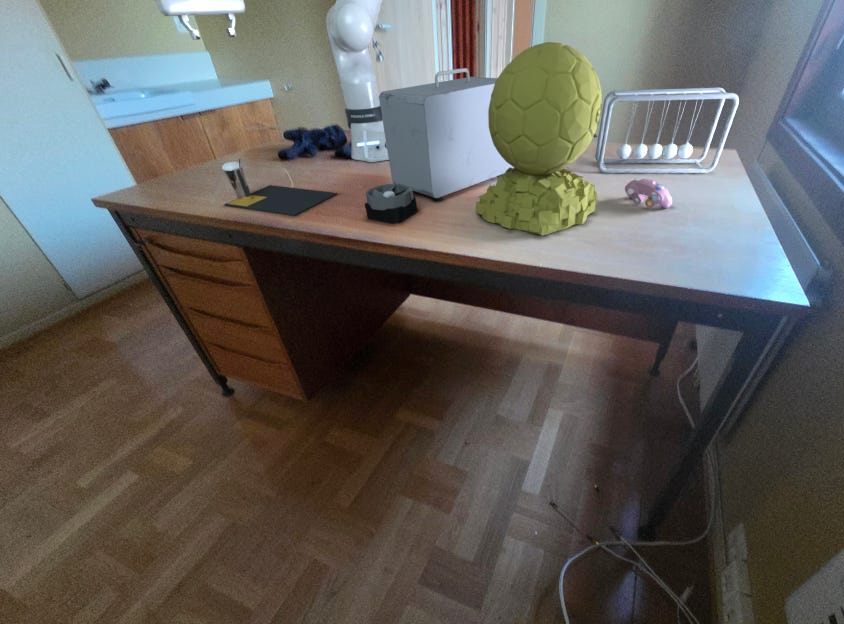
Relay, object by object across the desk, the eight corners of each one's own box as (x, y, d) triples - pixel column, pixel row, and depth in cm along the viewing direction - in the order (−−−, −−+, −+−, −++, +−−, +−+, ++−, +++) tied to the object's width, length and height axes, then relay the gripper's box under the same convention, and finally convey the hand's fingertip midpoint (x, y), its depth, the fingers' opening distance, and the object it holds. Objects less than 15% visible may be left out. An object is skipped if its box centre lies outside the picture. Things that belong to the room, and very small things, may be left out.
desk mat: (337, 194, 104) (336, 192, 103) (295, 216, 93) (294, 214, 93) (270, 186, 112) (269, 184, 111) (224, 205, 101) (224, 203, 101)
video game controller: (623, 207, 92) (620, 182, 86) (635, 194, 92) (634, 168, 87) (661, 219, 86) (660, 193, 80) (674, 205, 86) (675, 178, 81)
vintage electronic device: (472, 163, 120) (468, 62, 104) (517, 173, 110) (521, 63, 94) (389, 190, 104) (370, 76, 88) (433, 205, 94) (421, 79, 78)
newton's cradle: (596, 173, 107) (609, 96, 95) (593, 162, 115) (605, 90, 103) (714, 173, 102) (743, 93, 91) (702, 162, 110) (728, 86, 98)
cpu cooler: (355, 194, 86) (384, 180, 92) (361, 219, 89) (388, 205, 96) (393, 200, 82) (420, 185, 88) (397, 226, 85) (423, 210, 92)
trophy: (607, 211, 86) (642, 36, 66) (546, 244, 75) (566, 46, 55) (528, 191, 99) (538, 38, 79) (466, 216, 88) (459, 47, 68)
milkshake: (250, 203, 100) (233, 161, 93) (232, 202, 101) (214, 161, 94) (260, 197, 103) (245, 156, 97) (243, 196, 104) (226, 156, 98)
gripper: (143, -42, 84) (177, 41, 93) (234, -38, 96) (257, 35, 105) (134, -38, 87) (168, 41, 97) (223, -35, 99) (246, 36, 108)
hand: (215, 38), depth 101 cm, fingers open, 8 cm apart
